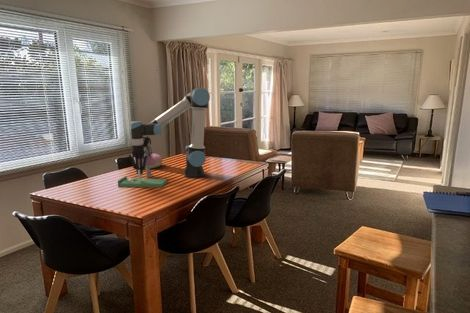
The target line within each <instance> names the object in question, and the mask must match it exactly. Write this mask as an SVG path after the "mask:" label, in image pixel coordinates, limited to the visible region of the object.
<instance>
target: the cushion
mask: <svg viewBox="0 0 470 313" xmlns="http://www.w3.org/2000/svg"><path fill="white" fill-rule="evenodd" d="M152 154H153V156H152V158H153V160H154V163H155V164H154V165H153V166H150V170H151V169H155V168H158V167H160V166H161V165H162V163H163V161H164V160H163V157H162V156H161V155H160V154H158V153H152ZM133 157H134V156H133ZM134 160H135V157H134ZM142 161H143V160H142ZM135 164H136V160H135ZM139 169H140V165H139ZM143 170H146V166H145V168H144V169H143Z"/></svg>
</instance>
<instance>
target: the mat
mask: <svg viewBox="0 0 470 313" xmlns="http://www.w3.org/2000/svg"><path fill="white" fill-rule="evenodd" d="M128 179H129V178H128V177H127V176H126V175H125V176H123V177H122V178H120V179H119V180H117V187H118V188H120V187H121V188H124V187H125V188H163V187H164V186H165V185H166V184H168V179H166V178H142V179H138V178H132V179H133V180H134V182H128Z"/></svg>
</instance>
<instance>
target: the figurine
mask: <svg viewBox="0 0 470 313" xmlns="http://www.w3.org/2000/svg"><path fill="white" fill-rule="evenodd" d="M143 142H144V144H143V145H144V152H145V154H147V155H148V157H147V161H146V169H145V174H146V178H152V177H154V174H152V172H151V169H150V166H153V165H154V164H155V163H154V160H153V158H152V156H153V154H155V150H154V149H153V148H152V147H151V144H152V140H151V138H150V137H149V135H146V136H145V137H144V136H143ZM142 160H143V161H144V156H143V157H142ZM143 161H142V163H143Z"/></svg>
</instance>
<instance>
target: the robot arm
mask: <svg viewBox="0 0 470 313" xmlns="http://www.w3.org/2000/svg"><path fill="white" fill-rule="evenodd" d="M210 99H211V94H210V93H209V91H208V90H207V89H206V88H205V87H195V88H193V89H192V90H191V91H190V92H189V93H187V94H186V95H184V97H183V99H182V100H180V101H179V102H177V103H175V105H173V106H171V107H170V108H169V109H167V110H166V111H164V112H163V113H161V114H160V115H159V116H157V117H156V118H154V119H153V120H152V121H149V122H148V123H147V124H145V123H143V121H141V120H140V121H137V120H135V121H134V120H133V121H131V122H130V133H131V134H130V135H131V149H132V152H131V154H129V155H128V157H129V159H130V162H131V164H132V167H133V169H134V170H136V175H137V179H143V174H144V171H143V170H145V169H144V168H145V166H146V161H147V157H148V155H147V154H145V152H144V145H143V144H144V142H143V137H144V136H145V137H147V136H160V135H162V128H163V127H164V126H166V125H167V124H169V123H170V122H172V121H173V120H174V119H176V118H177V117H179V116H181V115H182V114H183V113H185V112H186V111H187V110H188V109H190V108H191V109H192V119H191V123H192V124H191V138H190V140H191V141H190V145H186V146H185V163H186V164H185V170H184V172H183V174H184V175H183V176H184V177H185V178H189V179H190V178H191V179H197V178H202V177H205V175H206V174H205V170H204V168H203V165H204V164H205V163H206V160H207V157H206V147H205V145H204V142H205V140H204V139H205V122H206V111H207V110H208V109H209V102H210ZM143 156H144V161H143V163H142V157H143ZM134 157H135V160H136V164H135V160H134ZM139 165H140V169H139Z"/></svg>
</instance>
